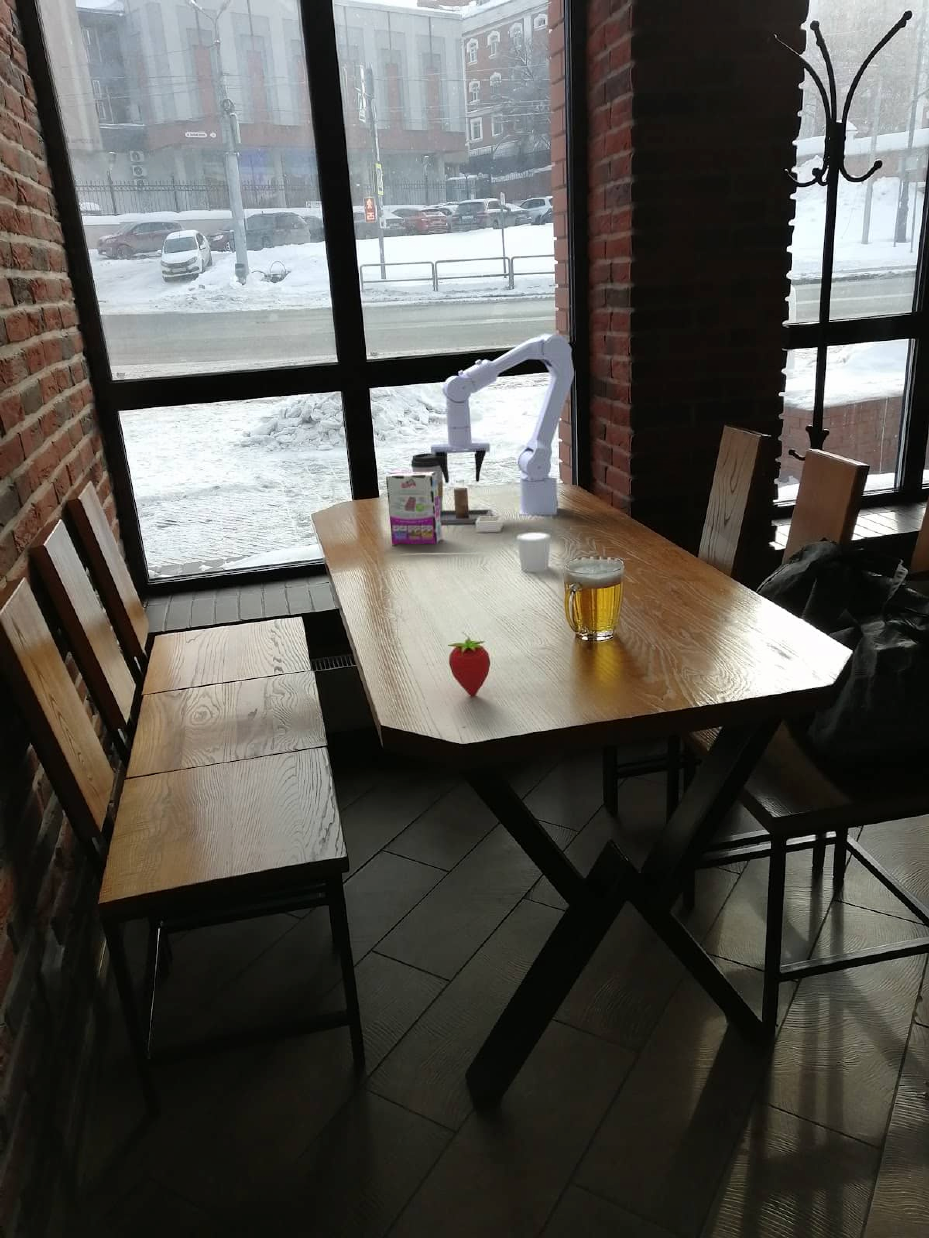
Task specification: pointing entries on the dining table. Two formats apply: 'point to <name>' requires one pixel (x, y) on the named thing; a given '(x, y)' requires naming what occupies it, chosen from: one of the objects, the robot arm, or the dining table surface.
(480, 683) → the strawberry
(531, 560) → the white tapered cylinder
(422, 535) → the candy bar box
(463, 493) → the dowel
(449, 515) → the tray
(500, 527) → the white square frame
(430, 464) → the coffee cup
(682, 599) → the dining table surface
